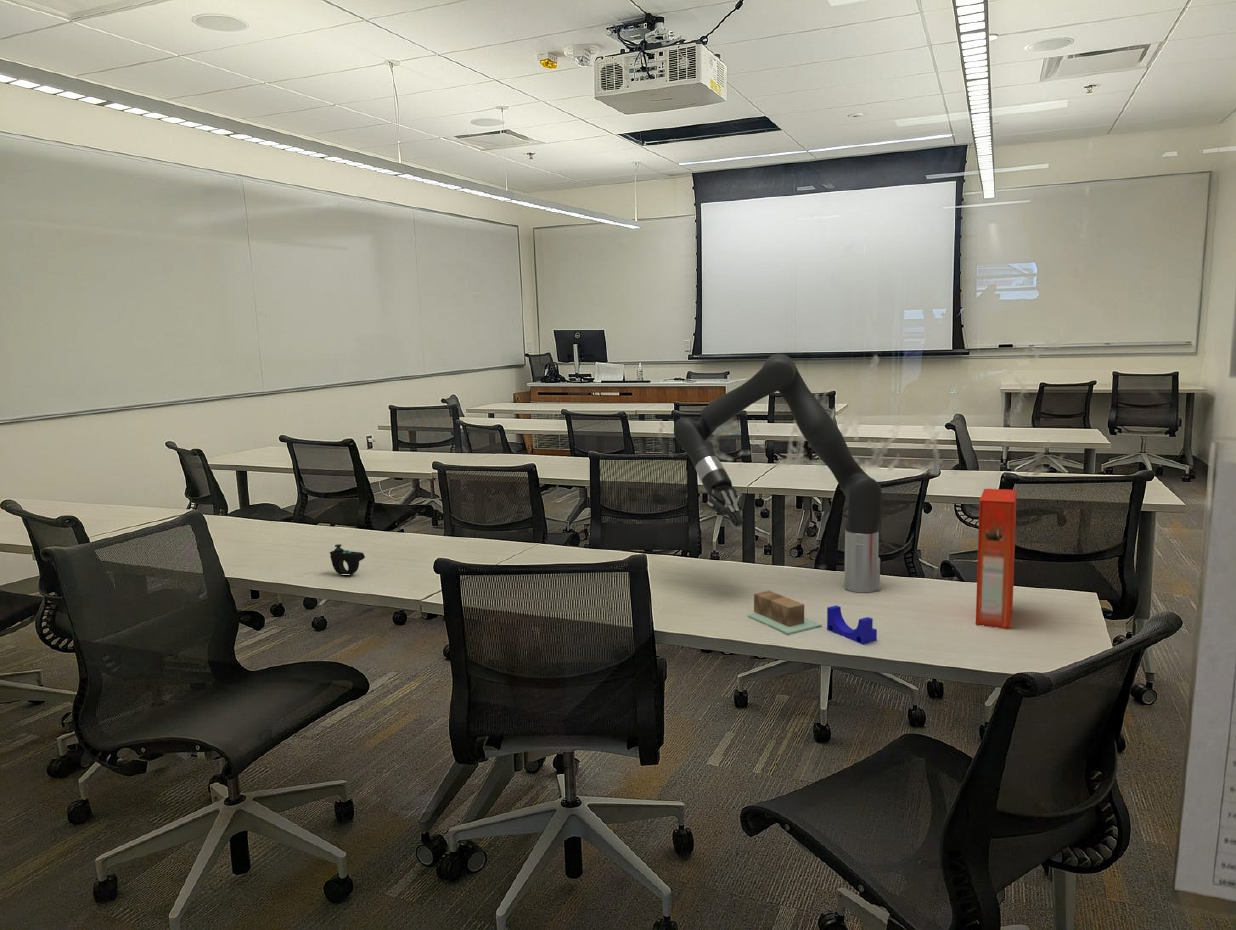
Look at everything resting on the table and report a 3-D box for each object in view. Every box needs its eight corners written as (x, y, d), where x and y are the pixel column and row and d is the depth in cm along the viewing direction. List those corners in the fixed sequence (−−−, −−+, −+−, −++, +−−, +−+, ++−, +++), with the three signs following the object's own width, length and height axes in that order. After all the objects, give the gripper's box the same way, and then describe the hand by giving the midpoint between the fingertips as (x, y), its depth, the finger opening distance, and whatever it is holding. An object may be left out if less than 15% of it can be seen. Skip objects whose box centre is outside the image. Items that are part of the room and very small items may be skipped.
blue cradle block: (876, 641, 193) (877, 617, 192) (863, 645, 191) (863, 621, 190) (840, 626, 203) (840, 604, 203) (827, 630, 201) (827, 607, 200)
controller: (338, 572, 266) (336, 542, 264) (368, 575, 261) (366, 545, 259) (329, 575, 262) (326, 545, 260) (359, 579, 257) (356, 548, 255)
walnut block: (754, 593, 214) (789, 607, 202) (768, 590, 216) (804, 604, 204) (754, 611, 214) (789, 626, 202) (768, 608, 217) (804, 623, 205)
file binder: (974, 624, 202) (979, 499, 197) (979, 604, 217) (984, 488, 212) (1009, 629, 198) (1016, 502, 193) (1012, 608, 213) (1018, 490, 208)
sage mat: (747, 616, 212) (747, 614, 212) (780, 609, 217) (780, 607, 217) (788, 634, 198) (788, 632, 198) (821, 626, 203) (821, 624, 203)
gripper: (698, 470, 224) (726, 520, 215) (737, 465, 230) (765, 514, 221) (688, 486, 229) (714, 536, 220) (726, 481, 235) (753, 529, 226)
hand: (740, 524), depth 221 cm, fingers closed
